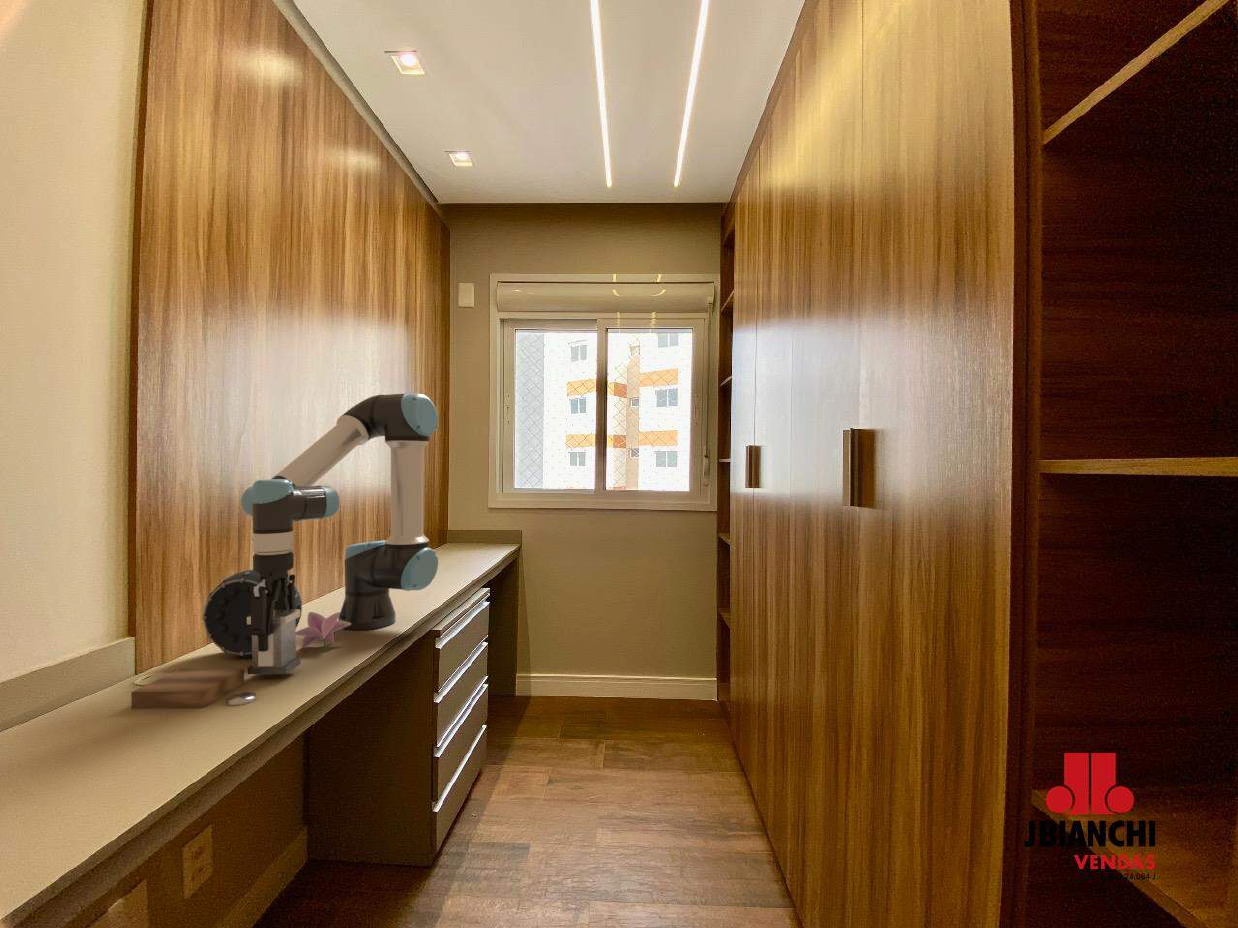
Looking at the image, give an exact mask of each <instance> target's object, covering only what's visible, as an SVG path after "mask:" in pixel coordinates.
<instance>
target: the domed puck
mask: <svg viewBox="0 0 1238 928" xmlns="http://www.w3.org/2000/svg"><path fill="white" fill-rule="evenodd" d="M257 700H258V699H257V693H256V692H252V691H251V692H247V691H246V692H239V693H235V694H232V695H230V696H228V697H227V698H226V699H225V704H226V705H227V706H230V707H231V706H233V707H234V706H242V705H243V704H244V705H247V704H250V703H252V702H255V701H257ZM244 705H243V706H244Z"/></svg>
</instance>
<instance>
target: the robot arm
mask: <svg viewBox="0 0 1238 928" xmlns="http://www.w3.org/2000/svg"><path fill="white" fill-rule="evenodd" d="M438 425H439V415H438V410H437V408H436V406H435V404H434V403H433V402H432V400H431V399H430V398H429V397H428V396H427V395H425V394H422V393H414V392H413V393H412V392H406V393H395V394H394V393H393V394H377V395H376V394H375V395H372V396H369V397H367V398H366V399H364V400H362V401H360V402H359V403H357V404H355V405H354V406H352V407H351V408H349V409H348V410H347V411H345V412H344V413H343V414H341V415H340V416H339V417H338V418H337V420H336V424H335V425H334V426H333V427H332V428H331V429H330V430H328V431H327V432H326V433H324V435H323V436H321V437H320V438H319V439H318V440H317V441H315V442H314V443H313V444H311V445H310V446H309V447H308V448H306V450H304V451H303V452H302V453H300V455H298V456H297V457H295V458H294V460H292V461H291V462H290V463H289V464H287V466H285V467H284V468H283V469H281V470H280V471H279V472H278V473H277V474H275V475H273V477H271V478H270V479H258V480H256V481H254V483H253V484H252V485H251V486H249V487H247V488H246V489H245V490H244V492H243V493H242V495H241V499H240V504H241V507H242V509H243V511H244V512H245V513H246V514H247V515H248V516H251V517H252V519H251V520H252V537H251V541H252V546H253V547H252V551H253V552H254V555H252V570H253V571H254V572H258V573H259V574H260V578H259V582H258V585H257V586H252V587H250V594H251V632H250V633H251V635H253V636H258V666H273V634H270V632H271V626H272V617H273V612H274V606H275V610H288V609H295V590H294V586H295V583H296V575H295V574H289V573H288V571H290V570H292V569H293V568H294V566H295V565H294V552H293V551H292V550H293V549H294V546H295V545H294V522H300V521H308V520H318V519H320V520H322V519H325V518H330V517H333V516H334V515H336V513H337V512H338V510H339V507H340V495H339V494H338V492H337V490H336V489H335V488H334V487H331V485H330V486H329V485H319V484H318V485H315V484H316V483H318V481H320V479H322V478H323V477H324V476H325V475H326V474H327V473H329V471H331V470H332V469H333V468H334V467H335V466H337V464H339V462H340V461H342V460H343V459H344V458H345V457H346V456H347V455H348V454H350V453H351V452H352V451H353V450H354V449H355V448H356V447H358V446H363V445H365V444H366V443H368V442H369V441H370V440H372V439H374V438H379V437H384V443H385V444H386V445H387V447H389V448H390V536H389V537H388V538H387V539H386V540H385V539H384V540H383V539H382V540H376V541H367V542H361V543H360V542H359V543H354V544H350V545H348V546H347V547H346V549H345V555H344V561H343V562H344V599H343V603H342V605H341V608H340V611H339V612H340V614H339V617H338V619H337V621H346V622H350V623H351V625H349V626H347V627H345V628H342V629H343V630H352V631H354V630H359V631H360V630H371V629H373V630H374V629H377V628H382V627H383V628H384V627H387V626H390V625H392V624H394V623H395V622H396V620H397V619H396V618H397V617H396V615H397V614H396V611H395V608H394V605H393V602H392V599H391V596H390V590H391V589H393V590H402V591H407V592H410V591H422V590H424V589H427V588H428V587H429V586H430V585H431V584H432V582H433V580H434V579H435V577H436V575H437V572H438V570H439V569H438V567H439V556H438V554H437V552H436V551H435V550H434V549H433V548H431V547H430V539H429V538H428V537H427V536H426V535H425V534H424V449H425V447H426V446H427V445H428V444H429V443H430V436H432V435H433V434H434V433H436V430H437V429H438ZM267 597H271V598H267Z"/></svg>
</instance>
